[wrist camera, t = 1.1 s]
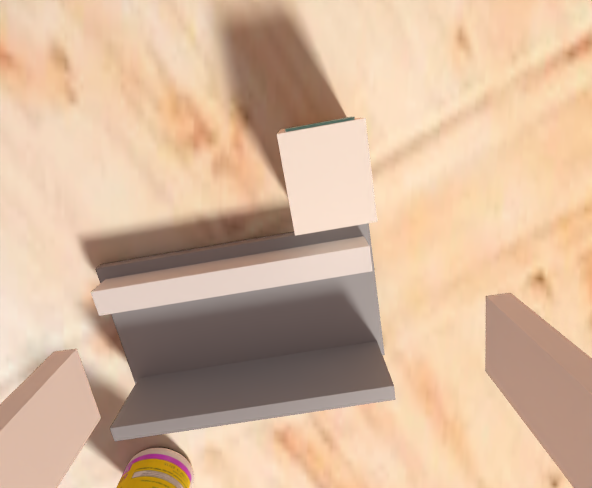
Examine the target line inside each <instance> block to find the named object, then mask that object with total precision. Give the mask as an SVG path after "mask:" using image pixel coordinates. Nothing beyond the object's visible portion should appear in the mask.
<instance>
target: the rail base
mask: <svg viewBox="0 0 592 488" xmlns="http://www.w3.org/2000/svg"><path fill="white" fill-rule="evenodd" d="M96 272H97V275H98V278H99V280H100V284H99V285H98V286H97V287H96V288H95V289H94V290H92V291H91V295H92V297H93V300H94V303H95V306H96V309H97V311H98V314H99V316H101V315H107V314H111V315H112V318H113V321H114V323H115V326H116V329H117V332H118V335H119V338H120V341H121V344H122V346H123V349H124V352H125V355H126V358H127V361H128V364H129V366H130V369H131V372H132V375H133V378H134V381H135V386H134V388H133V389H132V391H131V393H130V395H129V396H128V398H127V400H126V401H125V403H124V405H123V407H122V408H121V410H120V412H119V413H118V415H117V417H116V419H115V420H114V422H113V424H112V425H111V427H110V431H111V433H112V436H113V438H114V441H120V440H127V439H134V438H141V437H147V436H154V435H161V434H167V433H174V432H181V431H188V430H194V429H201V428H208V427H215V426H221V425H228V424H235V423H241V422H248V421H255V420H262V419H268V418H275V417H282V416H288V415H295V414H302V413H309V412H315V411H322V410H329V409H336V408H342V407H349V406H356V405H362V404H369V403H376V402H383V401H389V400H395V391H394V385H393V382H392V380H391V377H390V374H389V372H388V369H387V366H386V364H385V361H384V358H383V356H382V355H385V354H384V346H383V338H382V330H381V322H380V313H379V305H378V297H377V289H376V280H375V272H374V264H373V256H372V247H371V239H370V231H369V223H367V224H361V225H355V226H349V227H344V228H338V229H332V230H326V231H320V232H314V233H308V234H302V235H296V236H295V233H294V232H290V233H284V234H278V235H272V236H266V237H261V238H255V239H249V240H243V241H237V242H231V243H225V244H219V245H213V246H207V247H201V248H195V249H189V250H183V251H178V252H172V253H166V254H160V255H154V256H148V257H142V258H136V259H130V260H124V261H118V262H112V263H106V264H101V265H100V266H98V267H97V268H96Z"/></svg>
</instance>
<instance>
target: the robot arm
mask: <svg viewBox="0 0 592 488" xmlns="http://www.w3.org/2000/svg"><path fill="white" fill-rule="evenodd" d="M485 371H486V372H487V374H488V375H489V376H490V378H491V379H492V380H493V382H494V383H495V384H496V386H497V387H498V388H499V390H500V391H501V392H502V393H503V395H504V396H505V397H506V399H507V400H508V401H509V403H510V404H511V405H512V407H513V408H514V409H515V411H516V412H517V413H518V415H519V416H520V417H521V419H522V420H523V421H524V423H525V424H526V425H527V426H528V428H529V429H530V430H531V432H532V433H533V434H534V436H535V437H536V438H537V440H538V441H539V442H540V444H541V445H542V446H543V448H544V449H545V450H546V452H547V453H548V454H549V456H550V457H551V458H552V459H553V461H554V462H555V463H556V465H557V466H558V467H559V469H560V470H561V471H562V473H563V474H564V475H565V477H566V478H567V479H568V481H569V482H570V483H571V485H572V486H573V487H574V488H592V358H590V357H589V356H588V355H587V354H586V353H584V352H583V351H582V350H581V349H579V348H578V347H577V346H576V345H574V344H573V343H572V342H571V341H569V340H568V339H567V338H566V337H565V336H563V335H562V334H561V333H560V332H558V331H557V330H556V329H555V328H553V327H552V326H551V325H550V324H548V323H547V322H546V321H545V320H544V319H542V318H541V317H540V316H539V315H537V314H536V313H535V312H534V311H532V310H531V309H530V308H529V307H527V306H526V305H525V304H524V303H523V302H521V301H520V300H519V299H518V298H516V297H515V296H514V295H513V294H511V293H505V294H497V295H490V296H486V358H485ZM100 419H101V416H100V414H99V411H98V408H97V405H96V402H95V399H94V396H93V394H92V391H91V388H90V385H89V382H88V379H87V376H86V374H85V371H84V368H83V365H82V362H81V359H80V356H79V354H78V351H77V349H71V350H63V351H55V352H53V353H52V354H51V355H50V356H49V357H48V358H47V359H46V360H45V361H44V362H43V363H42V364H41V365H40V366H39V367H38V368H37V369H36V370H35V371H34V372H33V373H32V374H31V375H30V376H29V377H28V378H27V379H26V380H25V381H24V382H23V383H22V384H21V385H20V386H19V387H18V388H17V389H16V390H15V391H13V392H12V393H11V394H10V395H9V396H8V397H7V398H6V399H5V400H4V401H3V402H2V403H1V404H0V488H57V487H58V485H59V484H60V482H61V481H62V479H63V477H64V476H65V474H66V473H67V471H68V470H69V468H70V466H71V465H72V463H73V462H74V460H75V459H76V457H77V455H78V454H79V452H80V451H81V449H82V447H83V446H84V444H85V443H86V441H87V440H88V438H89V436H90V435H91V433H92V432H93V430H94V429H95V427H96V425H97V424H98V422H99V421H100Z"/></svg>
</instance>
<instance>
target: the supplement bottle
mask: <svg viewBox="0 0 592 488" xmlns="http://www.w3.org/2000/svg"><path fill="white" fill-rule="evenodd" d="M193 481H194V474H193V469H192V467H191V465H190V463H189V462H188V460H187V459H186V458H185V457H184V456H182V455H181V454H179V453H178V452H175V451H173V450H170V449H167V448H150V449H146V450H143V451H141V452H139V453H138V454H136V455H135V456H134V457H133V458H132V459H131V460H130V461H129V463H128V465H127V467H126V469H125V471H124V473H123V475H122V477H121V479H120V481H119V483H118V486H117V488H192V486H193Z"/></svg>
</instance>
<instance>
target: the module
mask: <svg viewBox="0 0 592 488" xmlns="http://www.w3.org/2000/svg"><path fill="white" fill-rule="evenodd" d="M277 139H278V145H279V150H280V156H281V161H282V167H283V172H284V178H285V183H286V189H287V194H288V200H289V205H290V211H291V216H292V222H293V227H294V233H295V236H296V235H302V234H308V233H314V232H320V231H326V230H332V229H338V228H344V227H349V226H355V225H361V224H367V223H373V222H377V214H376V205H375V196H374V188H373V179H372V170H371V161H370V153H369V144H368V135H367V126H366V118H354V117H347V118H341V119H336V120H330V121H325V122H319V123H313V124H308V125H302V126H297V127H291V128H286V129H280V131H279V132H278V133H277Z"/></svg>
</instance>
